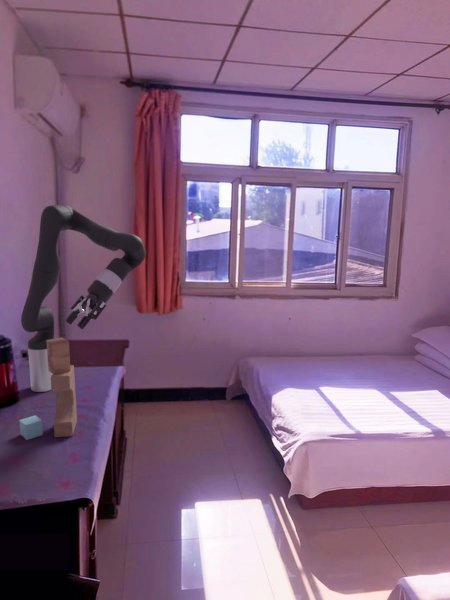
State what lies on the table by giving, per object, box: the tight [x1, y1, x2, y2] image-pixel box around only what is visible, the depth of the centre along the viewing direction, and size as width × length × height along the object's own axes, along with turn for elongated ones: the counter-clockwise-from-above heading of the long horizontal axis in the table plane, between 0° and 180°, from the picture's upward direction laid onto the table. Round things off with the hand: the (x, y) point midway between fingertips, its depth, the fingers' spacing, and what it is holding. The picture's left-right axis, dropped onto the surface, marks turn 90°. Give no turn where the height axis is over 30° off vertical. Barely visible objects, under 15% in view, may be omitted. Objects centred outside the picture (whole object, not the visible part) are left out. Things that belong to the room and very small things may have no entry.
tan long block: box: [47, 337, 71, 375], centre depth 139 cm, size 5×5×10 cm
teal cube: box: [18, 415, 44, 441], centre depth 140 cm, size 5×5×5 cm
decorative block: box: [50, 364, 78, 438], centre depth 142 cm, size 11×6×20 cm, turn 10°
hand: (73, 325), depth 141 cm, fingers open, 8 cm apart
